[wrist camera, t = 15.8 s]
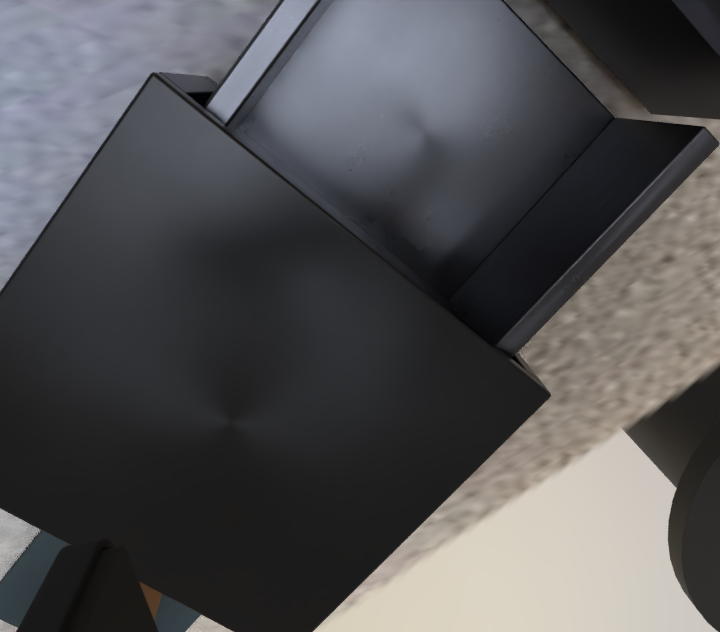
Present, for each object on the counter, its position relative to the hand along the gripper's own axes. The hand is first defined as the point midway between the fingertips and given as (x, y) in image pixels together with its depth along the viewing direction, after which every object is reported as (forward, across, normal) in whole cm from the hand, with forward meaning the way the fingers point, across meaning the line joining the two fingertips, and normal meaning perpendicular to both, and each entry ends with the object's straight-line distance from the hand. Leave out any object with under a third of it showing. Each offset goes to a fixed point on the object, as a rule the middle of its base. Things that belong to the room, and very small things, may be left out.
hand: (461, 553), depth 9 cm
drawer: (+17, -6, -7) cm, 19 cm away
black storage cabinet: (+18, +5, +2) cm, 19 cm away
